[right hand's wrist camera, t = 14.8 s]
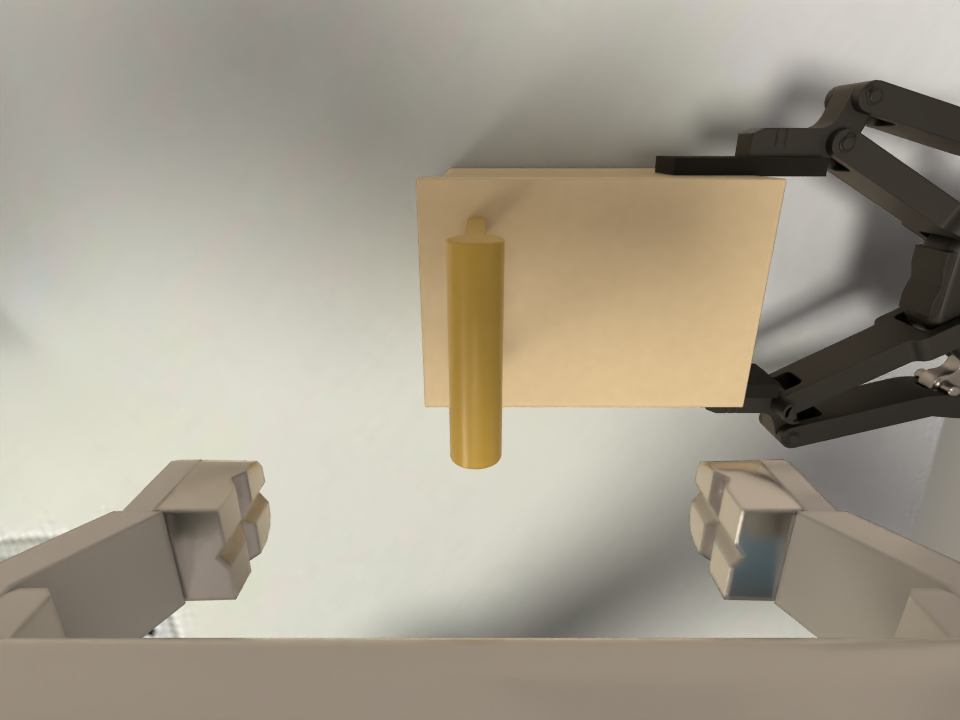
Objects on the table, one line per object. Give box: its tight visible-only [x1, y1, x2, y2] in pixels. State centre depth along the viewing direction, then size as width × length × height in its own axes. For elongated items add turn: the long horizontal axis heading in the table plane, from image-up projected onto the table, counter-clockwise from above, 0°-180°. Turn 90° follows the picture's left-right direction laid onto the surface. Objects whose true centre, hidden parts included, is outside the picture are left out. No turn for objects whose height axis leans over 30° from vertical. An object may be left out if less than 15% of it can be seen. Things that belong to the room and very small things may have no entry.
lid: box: [416, 177, 786, 469], centre depth 20 cm, size 14×10×8 cm
